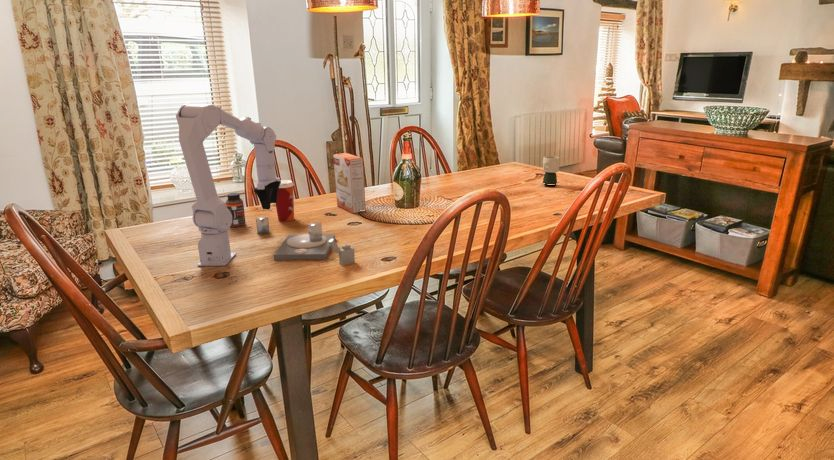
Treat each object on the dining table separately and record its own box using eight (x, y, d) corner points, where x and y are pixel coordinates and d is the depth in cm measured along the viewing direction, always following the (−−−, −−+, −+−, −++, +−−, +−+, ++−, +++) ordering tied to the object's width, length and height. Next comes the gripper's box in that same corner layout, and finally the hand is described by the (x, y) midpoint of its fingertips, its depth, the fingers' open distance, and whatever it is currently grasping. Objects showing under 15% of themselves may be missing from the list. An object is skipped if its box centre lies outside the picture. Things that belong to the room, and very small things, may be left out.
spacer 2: (320, 242, 158) (319, 226, 157) (307, 241, 159) (306, 226, 157) (324, 238, 162) (322, 222, 160) (311, 237, 162) (310, 222, 161)
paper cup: (298, 221, 188) (295, 183, 183) (276, 223, 185) (272, 185, 181) (295, 215, 195) (291, 178, 190) (274, 217, 192) (270, 180, 188)
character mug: (549, 182, 239) (551, 154, 235) (563, 185, 234) (565, 156, 230) (535, 186, 232) (537, 157, 228) (549, 189, 227) (551, 159, 223)
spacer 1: (267, 234, 174) (266, 219, 172) (255, 234, 174) (254, 220, 172) (271, 230, 177) (269, 216, 176) (259, 230, 177) (257, 216, 176)
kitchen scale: (325, 259, 150) (324, 252, 150) (273, 259, 151) (273, 252, 150) (335, 239, 168) (334, 232, 167) (288, 239, 168) (288, 233, 167)
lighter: (352, 260, 149) (350, 234, 147) (355, 262, 148) (353, 235, 145) (329, 266, 145) (327, 238, 143) (332, 267, 144) (330, 240, 142)
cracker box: (336, 206, 206) (332, 153, 199) (349, 204, 209) (346, 152, 203) (352, 214, 195) (348, 158, 188) (366, 211, 198) (363, 157, 191)
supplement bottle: (240, 227, 181) (236, 196, 177) (224, 227, 182) (220, 195, 179) (249, 222, 186) (245, 192, 183) (233, 222, 188) (229, 191, 184)
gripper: (271, 169, 159) (276, 211, 163) (283, 160, 172) (287, 200, 177) (248, 169, 159) (253, 212, 163) (262, 160, 173) (267, 200, 177)
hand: (269, 206), depth 170 cm, fingers open, 7 cm apart
